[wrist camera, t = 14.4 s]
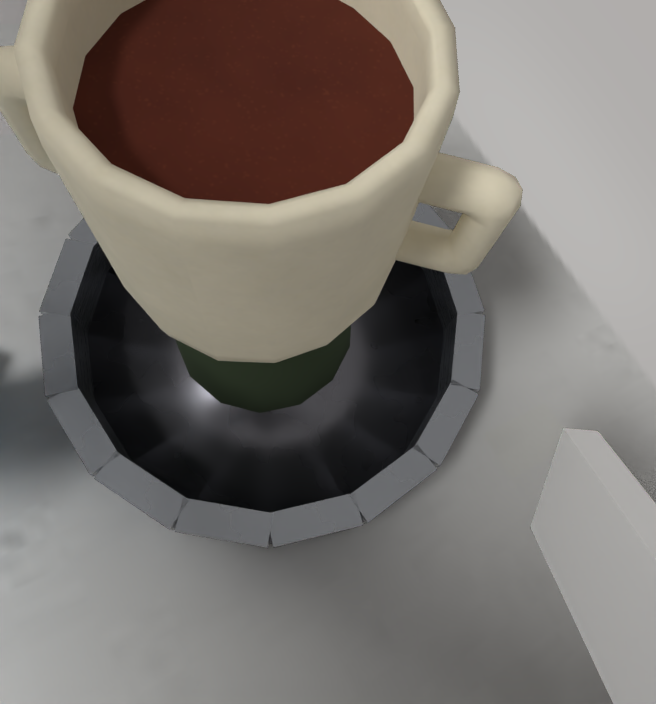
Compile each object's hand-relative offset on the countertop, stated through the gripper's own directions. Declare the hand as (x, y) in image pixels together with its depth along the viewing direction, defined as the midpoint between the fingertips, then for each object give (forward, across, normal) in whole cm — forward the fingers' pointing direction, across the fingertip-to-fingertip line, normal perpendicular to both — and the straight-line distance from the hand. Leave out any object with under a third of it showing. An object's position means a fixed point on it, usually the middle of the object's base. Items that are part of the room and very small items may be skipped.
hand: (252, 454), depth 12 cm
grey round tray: (+10, 0, -2) cm, 10 cm away
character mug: (+10, 0, -2) cm, 10 cm away
